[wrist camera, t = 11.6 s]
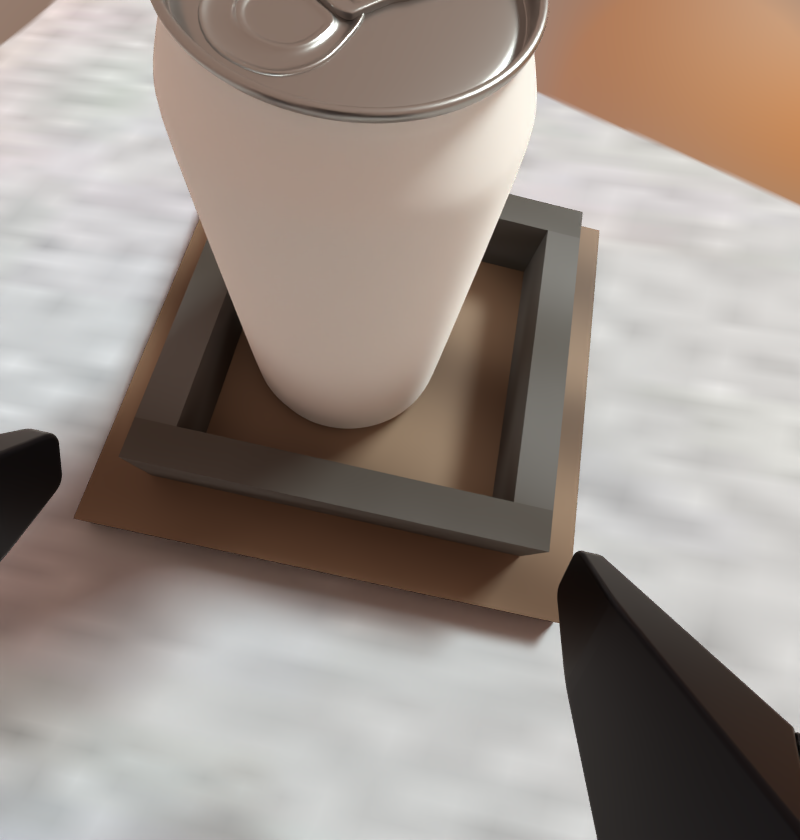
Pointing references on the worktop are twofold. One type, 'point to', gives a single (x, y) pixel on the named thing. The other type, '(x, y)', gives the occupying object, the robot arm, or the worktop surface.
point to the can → (348, 175)
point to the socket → (375, 436)
